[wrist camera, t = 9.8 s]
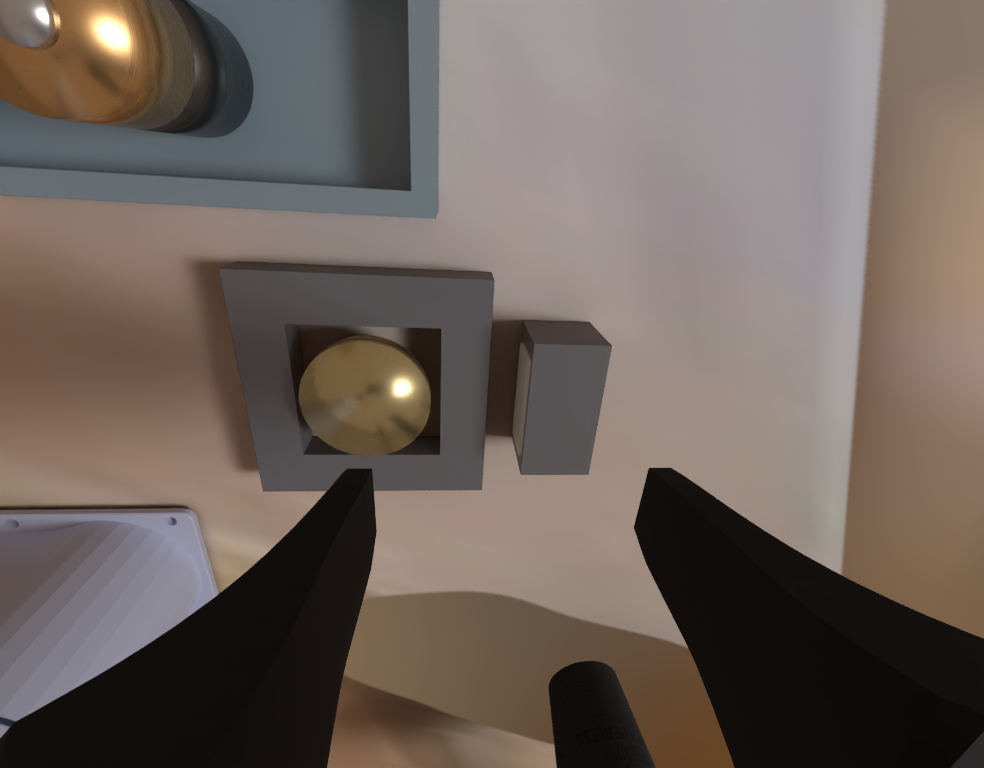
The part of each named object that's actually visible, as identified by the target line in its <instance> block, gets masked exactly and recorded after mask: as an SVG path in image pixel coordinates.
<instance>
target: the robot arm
mask: <svg viewBox="0 0 984 768" xmlns="http://www.w3.org/2000/svg"><path fill="white" fill-rule="evenodd" d="M171 517H172V518H174V519H172V518H171ZM175 519H176V520H175ZM634 529H635V532H636V535H637V538H638V541H639V544H640V547H641V550H642V553H643V556H644V558H645V561H646V564H647V566H648V568H649V570H650V572H651V574H652V576H653V578H654V580H655V582H656V584H657V586H658V588H659V590H660V592H661V594H662V596H663V598H664V600H665V602H666V604H667V606H668V608H669V610H670V612H671V614H672V616H673V618H674V620H675V622H676V624H677V626H678V628H679V630H680V632H681V634H682V636H683V638H684V640H685V642H686V644H687V646H688V648H689V650H690V652H691V654H692V656H693V659H694V661H695V663H696V665H697V668H698V670H699V673H700V675H701V678H702V681H703V683H704V686H705V688H706V691H707V693H708V696H709V698H710V700H711V703H712V706H713V708H714V711H715V714H716V717H717V719H718V722H719V725H720V728H721V731H722V733H723V736H724V738H725V742H726V744H727V747H728V750H729V753H730V755H731V758H732V761H733V764H734V767H735V768H984V639H983V638H980V637H978V636H975V635H973V634H970V633H968V632H965V631H962V630H960V629H958V628H956V627H953V626H951V625H948V624H946V623H943V622H941V621H938V620H936V619H934V618H931V617H929V616H926V615H924V614H922V613H920V612H917V611H915V610H913V609H910V608H908V607H906V606H904V605H901V604H899V603H897V602H895V601H893V600H891V599H889V598H886V597H884V596H882V595H880V594H878V593H876V592H874V591H872V590H870V589H868V588H865V587H863V586H861V585H859V584H857V583H855V582H853V581H851V580H849V579H847V578H845V577H844V576H842V575H840V574H838V573H836V572H834V571H832V570H830V569H829V568H827V567H825V566H823V565H821V564H819V563H818V562H816V561H814V560H812V559H810V558H809V557H807V556H805V555H803V554H802V553H800V552H798V551H796V550H795V549H793V548H791V547H790V546H788V545H786V544H785V543H783V542H782V541H780V540H778V539H777V538H775V537H774V536H772V535H770V534H769V533H767V532H766V531H764V530H762V529H761V528H759V527H758V526H756V525H755V524H753V523H752V522H750V521H749V520H747V519H746V518H744V517H743V516H741V515H740V514H738V513H737V512H735V511H734V510H732V509H731V508H729V507H728V506H727V505H725V504H724V503H722V502H721V501H719V500H718V499H716V498H715V497H714V496H712V495H711V494H709V493H708V492H706V491H705V490H704V489H702V488H701V487H699V486H698V485H696V484H695V483H693V482H692V481H691V480H689V479H688V478H686V477H685V476H683V475H682V474H680V473H678V472H677V471H675V470H673V469H672V468H649V470H648V474H647V478H646V482H645V485H644V489H643V493H642V497H641V501H640V505H639V509H638V513H637V517H636V521H635V525H634ZM375 538H376V517H375V503H374V488H373V473H372V468H364V469H346V470H345V471H344V472H343V473H342V474H341V475H340V476H339V478H338V479H337V480H336V481H335V482H334V484H333V485H332V486H331V487H330V488H329V489H328V491H327V492H326V493H325V494H324V495H323V496H322V497H321V499H320V500H319V501H318V502H317V503H316V504H315V505H314V506H313V507H312V509H311V510H310V511H309V512H308V513H307V514H306V515H305V516H304V517H303V518H302V519H301V520H300V521H299V522H298V523H297V525H296V526H295V527H294V528H293V529H292V530H291V531H290V532H289V533H288V534H287V535H286V536H284V537H283V538H282V539H281V540H280V541H279V542H278V543H277V544H276V545H275V546H274V547H273V548H272V549H271V550H270V551H269V552H268V553H267V554H266V555H265V556H264V557H263V558H261V559H260V560H259V561H258V562H257V563H256V564H255V565H254V566H252V567H251V568H250V569H249V570H248V571H247V572H245V573H244V574H243V575H242V576H241V577H240V578H238V579H237V580H236V581H235V582H233V583H232V584H231V585H230V586H229V587H227V588H226V589H225V590H224V591H222V592H221V593H220V594H219V593H218V589H217V586H216V582H215V579H214V575H213V572H212V568H211V565H210V561H209V558H208V554H207V551H206V547H205V544H204V541H203V537H202V534H201V530H200V527H199V523H198V520H197V516H196V514H195V513H194V512H193V511H192V510H189V509H185V508H164V509H64V510H0V768H327V764H328V758H329V752H330V745H331V739H332V733H333V728H334V722H335V716H336V711H337V705H338V699H339V694H340V688H341V682H342V678H343V674H344V669H345V665H346V660H347V657H348V653H349V649H350V646H351V641H352V638H353V634H354V631H355V627H356V623H357V620H358V616H359V612H360V609H361V605H362V601H363V597H364V594H365V590H366V586H367V582H368V579H369V575H370V571H371V565H372V559H373V552H374V545H375Z"/></svg>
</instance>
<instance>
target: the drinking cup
mask: <svg viewBox="0 0 984 768" xmlns="http://www.w3.org/2000/svg"><path fill="white" fill-rule="evenodd" d="M549 696H550V705H551V716H552V724H553V735H554V745H555V754H556V764H557V768H655V765H654V763H653V760H652V758H651V756H650V753H649V751H648V749H647V746H646V744H645V742H644V739H643V737H642V735H641V732H640V730H639V727H638V725H637V723H636V720H635V718H634V715H633V713H632V711H631V708H630V706H629V704H628V701H627V699H626V697H625V695H624V693H623V690H622V687H621V685H620V682H619V680H618V678H617V675H616V673H615V671H614V670H613V669H612V668H611V667H610V666H608V665H607V664H604V663H601V662H596V661H584V662H578V663H574V664H571V665H569V666H567V667H564V668H563V669H561V670H560V671H558V672H557V673H556V674H555V675H554V676H553V677H552V679H551V681H550V683H549Z"/></svg>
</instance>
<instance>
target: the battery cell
mask: <svg viewBox="0 0 984 768" xmlns="http://www.w3.org/2000/svg"><path fill="white" fill-rule="evenodd" d="M0 98H2V99H3V100H5V101H6V102H8V103H10V104H12V105H14V106H16V107H18V108H20V109H22V110H24V111H27V112H30V113H32V114H35V115H39V116H43V117H46V118H53V119H61V120H69V121H77V122H84V123H92V124H100V125H108V126H116V127H124V128H132V129H140V130H148V131H155V132H163V133H171V134H179V135H187V136H195V137H203V138H216V137H222V136H225V135H227V134H229V133H231V132H233V131H234V130H236V129H237V128H238V127H239V126H240V125H241V124H242V123H243V122H244V120H245V119H246V117H247V115H248V113H249V111H250V108H251V105H252V100H253V78H252V73H251V69H250V66H249V62H248V60H247V57H246V55H245V53H244V51H243V49H242V47H241V45H240V44H239V42H238V41H237V39H236V38H235V36H234V35H233V34H232V33H231V32H230V30H229V29H228V28H227V27H226V26H225V25H224V24H223V23H222V22H221V21H219V20H218V19H217V18H216V17H214V16H213V15H211V14H210V13H208V12H207V11H205V10H203V9H202V8H200V7H199V6H197V5H196V4H194V3H192V2H191V1H189V0H0Z"/></svg>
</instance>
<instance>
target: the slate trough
mask: <svg viewBox="0 0 984 768" xmlns="http://www.w3.org/2000/svg"><path fill="white" fill-rule="evenodd" d="M189 1H191V2H192V3H194V4H196V5H197V6H199V7H200V8H202V9H203V10H205V11H207V12H208V13H210V14H211V15H213V16H214V17H216V18H217V19H218V20H219V21H221V22H222V23H223V24H224V25H225V26H226V27H227V28H228V29H229V30H230V32H231V33H232V34H233V35H234V36H235V38H236V39H237V41H238V42H239V44H240V45H241V47H242V49H243V51H244V53H245V55H246V57H247V60H248V62H249V66H250V69H251V73H252V78H253V100H252V105H251V108H250V111H249V113H248V115H247V117H246V119H245V120H244V122H243V123H242V124H241V125H240V126H239V127H238V128H237V129H236V130H234V131H233V132H231V133H229V134H227V135H225V136H222V137H216V138H203V137H195V136H187V135H179V134H171V133H163V132H155V131H148V130H140V129H132V128H124V127H116V126H108V125H100V124H92V123H84V122H77V121H69V120H61V119H53V118H46V117H43V116H39V115H35V114H32V113H30V112H27V111H24V110H22V109H20V108H18V107H16V106H14V105H12V104H10V103H8V102H6V101H5V100H3V99H2V98H0V195H7V196H26V197H44V198H63V199H81V200H100V201H118V202H137V203H156V204H174V205H193V206H211V207H230V208H248V209H267V210H285V211H304V212H323V213H341V214H360V215H378V216H397V217H415V218H434V219H436V217H437V214H438V129H439V0H189Z"/></svg>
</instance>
